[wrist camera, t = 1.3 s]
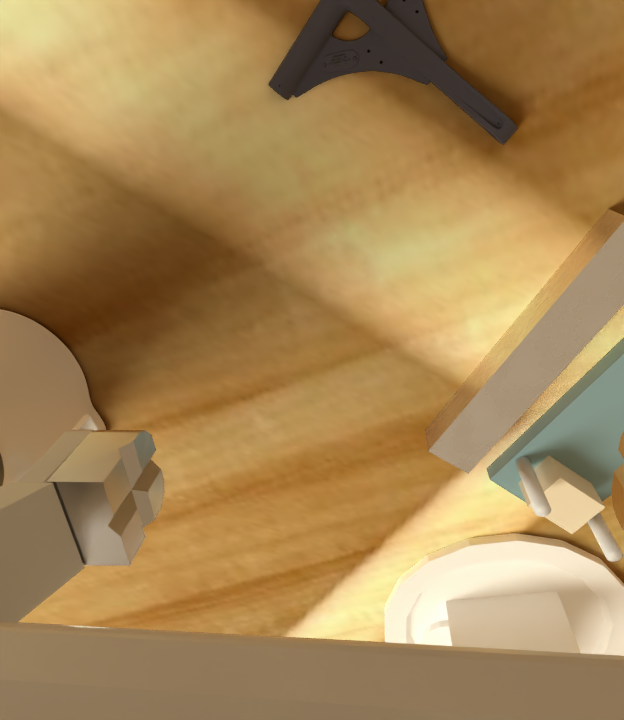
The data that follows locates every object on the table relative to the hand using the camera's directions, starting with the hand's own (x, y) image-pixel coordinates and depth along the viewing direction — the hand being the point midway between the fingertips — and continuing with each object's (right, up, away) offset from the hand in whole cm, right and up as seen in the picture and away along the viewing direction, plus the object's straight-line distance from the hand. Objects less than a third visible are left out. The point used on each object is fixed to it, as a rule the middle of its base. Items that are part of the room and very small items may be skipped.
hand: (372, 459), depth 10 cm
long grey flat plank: (+16, +3, +33) cm, 37 cm away
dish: (+19, -26, +47) cm, 57 cm away
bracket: (+6, +22, +26) cm, 34 cm away
